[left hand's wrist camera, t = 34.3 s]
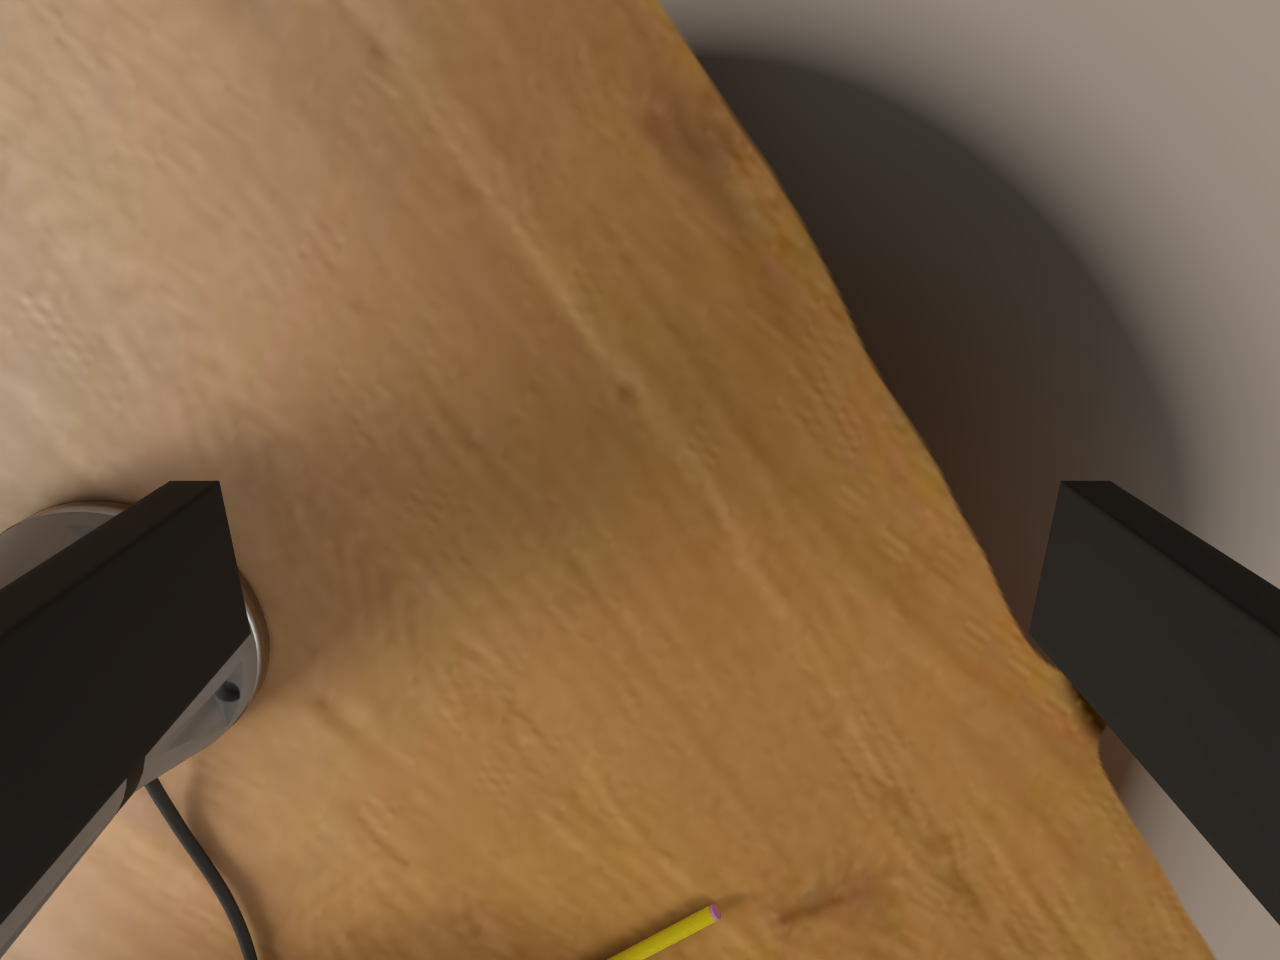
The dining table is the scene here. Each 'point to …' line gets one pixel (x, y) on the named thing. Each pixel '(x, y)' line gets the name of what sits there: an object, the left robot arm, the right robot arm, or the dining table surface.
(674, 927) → the pencil
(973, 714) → the dining table surface
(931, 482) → the dining table surface
